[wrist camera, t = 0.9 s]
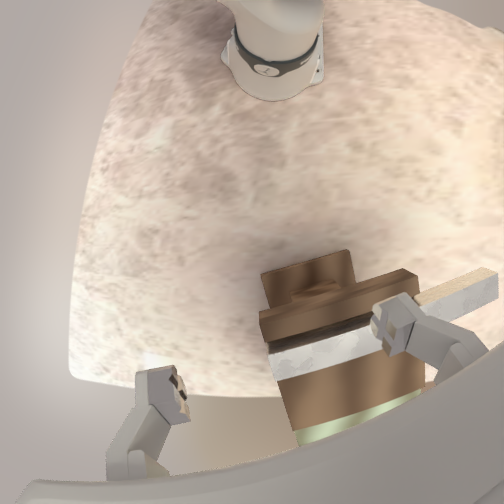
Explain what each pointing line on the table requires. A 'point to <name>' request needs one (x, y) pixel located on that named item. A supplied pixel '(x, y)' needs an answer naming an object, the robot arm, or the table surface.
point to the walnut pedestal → (347, 373)
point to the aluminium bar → (359, 329)
